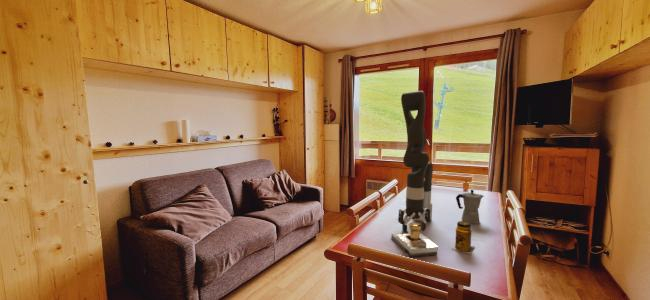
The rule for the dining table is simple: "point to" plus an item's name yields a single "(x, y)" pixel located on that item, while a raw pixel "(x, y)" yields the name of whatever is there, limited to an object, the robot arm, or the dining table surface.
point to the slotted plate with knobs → (415, 244)
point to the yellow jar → (463, 237)
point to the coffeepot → (470, 206)
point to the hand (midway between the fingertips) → (413, 231)
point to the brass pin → (414, 231)
